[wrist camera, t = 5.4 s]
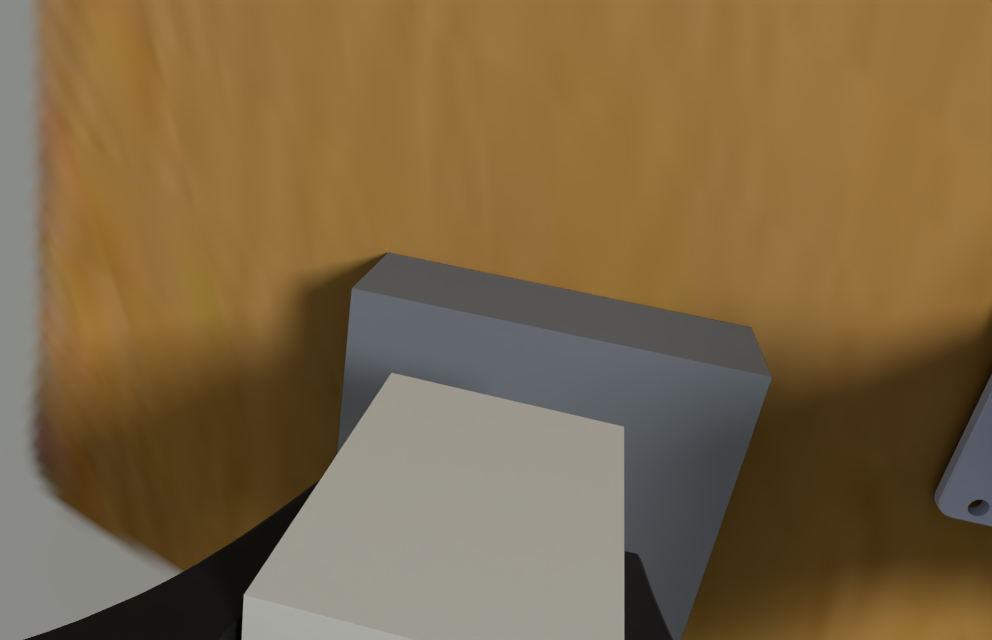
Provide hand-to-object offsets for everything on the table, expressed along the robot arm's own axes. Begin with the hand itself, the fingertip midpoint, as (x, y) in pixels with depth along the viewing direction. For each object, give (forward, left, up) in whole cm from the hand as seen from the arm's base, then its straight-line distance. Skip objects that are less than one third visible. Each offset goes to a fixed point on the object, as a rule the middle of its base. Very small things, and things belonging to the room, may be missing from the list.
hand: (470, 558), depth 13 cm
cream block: (0, 0, -2) cm, 2 cm away
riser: (-1, +3, -8) cm, 9 cm away
